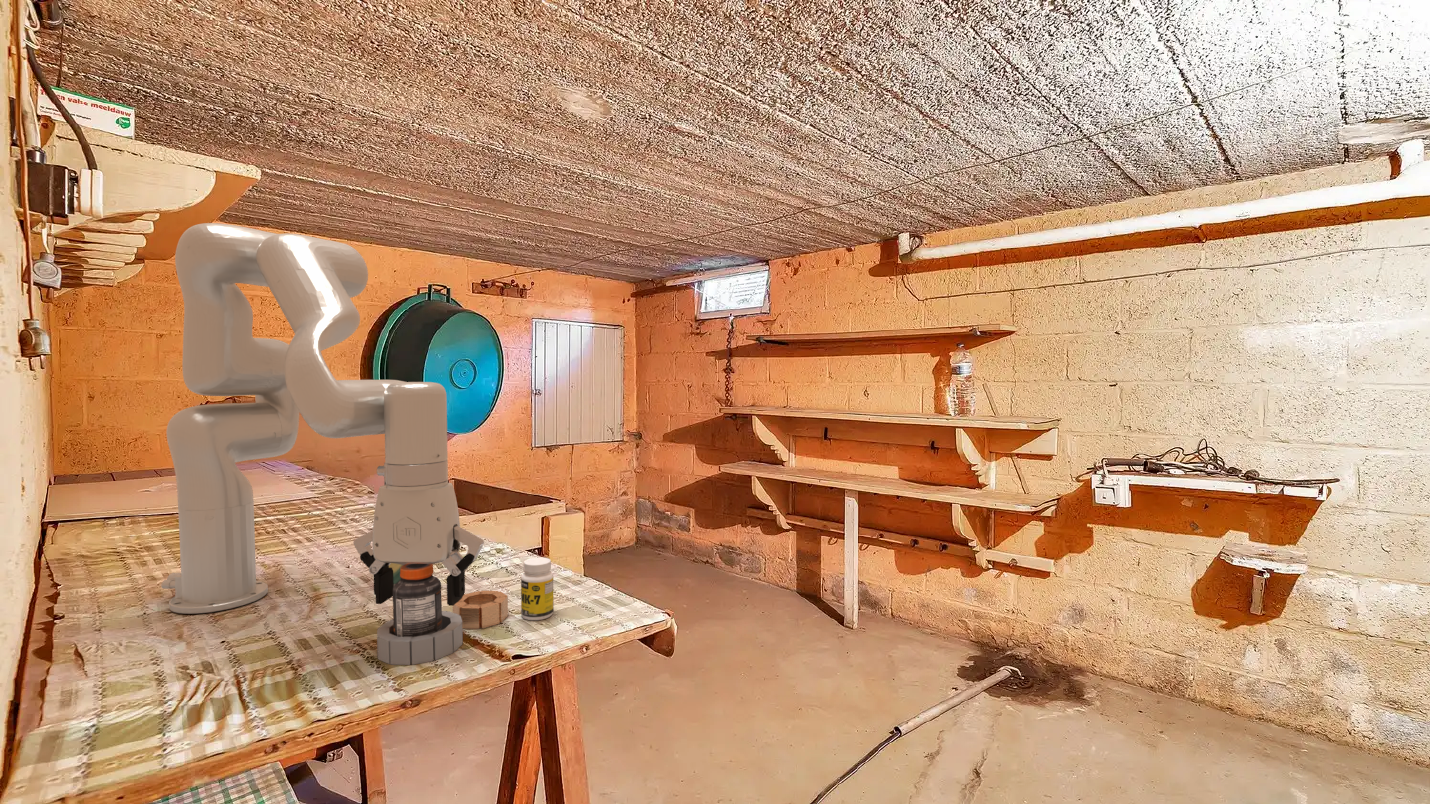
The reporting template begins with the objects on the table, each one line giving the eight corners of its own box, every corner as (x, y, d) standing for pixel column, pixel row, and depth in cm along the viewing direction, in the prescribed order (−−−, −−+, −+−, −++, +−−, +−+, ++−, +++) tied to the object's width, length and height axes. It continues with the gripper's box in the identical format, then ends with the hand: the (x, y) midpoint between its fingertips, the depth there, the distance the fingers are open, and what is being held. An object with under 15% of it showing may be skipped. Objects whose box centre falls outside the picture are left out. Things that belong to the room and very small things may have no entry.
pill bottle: (411, 636, 90) (410, 556, 89) (451, 639, 89) (450, 558, 88) (384, 655, 84) (382, 570, 83) (426, 658, 83) (424, 572, 82)
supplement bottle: (514, 618, 96) (514, 563, 96) (533, 607, 101) (533, 555, 100) (541, 623, 94) (541, 567, 94) (559, 611, 99) (559, 558, 98)
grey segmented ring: (360, 663, 81) (360, 640, 81) (404, 630, 92) (403, 610, 91) (439, 665, 81) (439, 642, 81) (474, 632, 91) (474, 611, 91)
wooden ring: (445, 628, 92) (445, 607, 92) (467, 609, 100) (467, 590, 100) (495, 629, 92) (494, 609, 92) (513, 610, 99) (513, 591, 99)
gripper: (336, 478, 82) (339, 610, 82) (468, 480, 81) (470, 613, 82) (370, 469, 89) (373, 590, 90) (492, 471, 88) (494, 593, 89)
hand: (419, 601), depth 86 cm, fingers open, 9 cm apart
